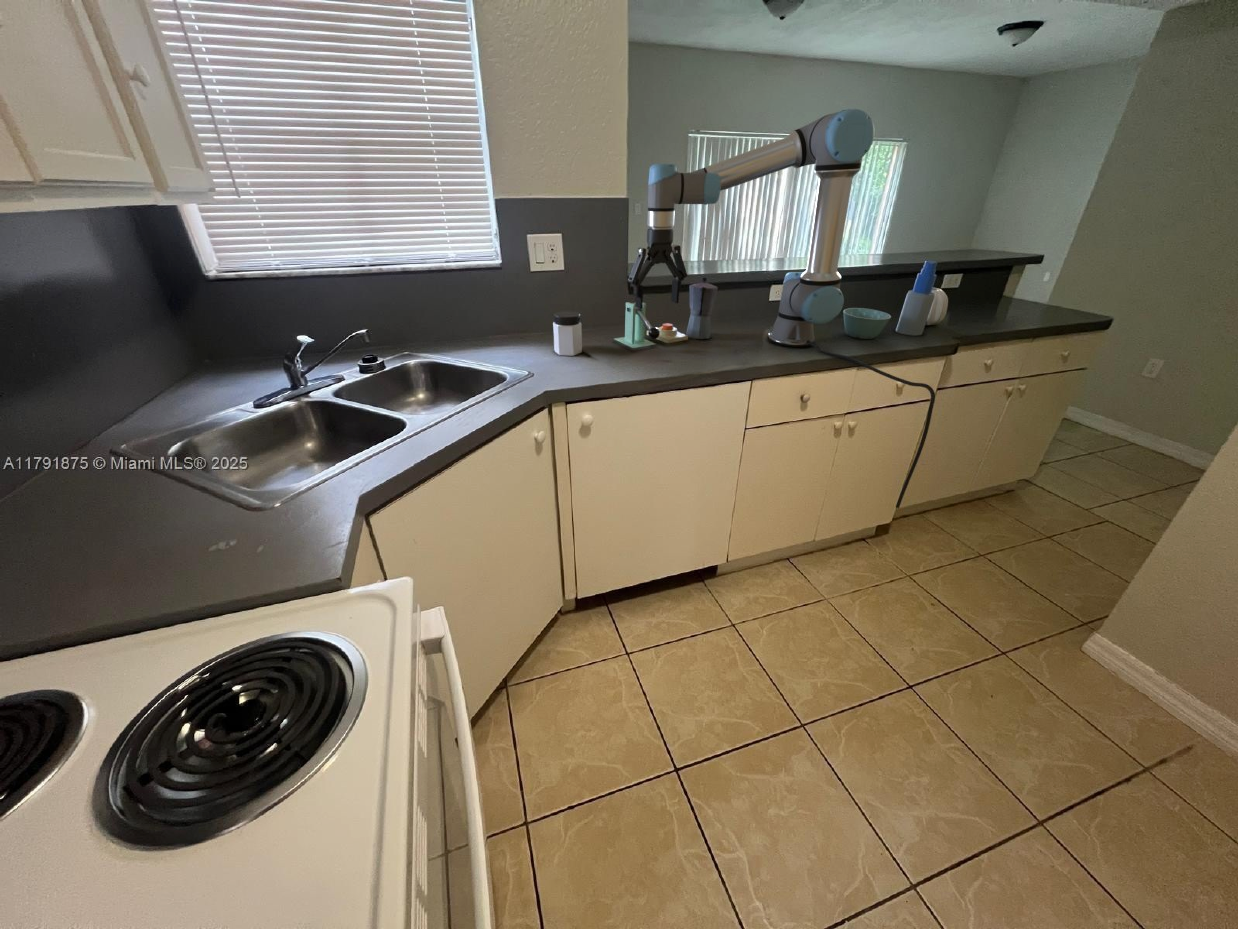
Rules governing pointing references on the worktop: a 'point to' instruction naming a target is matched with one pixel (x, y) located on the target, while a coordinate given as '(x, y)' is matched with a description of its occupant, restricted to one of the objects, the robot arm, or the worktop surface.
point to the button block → (670, 335)
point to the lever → (648, 325)
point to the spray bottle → (918, 302)
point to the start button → (667, 326)
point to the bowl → (864, 322)
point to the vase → (937, 307)
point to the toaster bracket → (634, 328)
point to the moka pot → (701, 309)
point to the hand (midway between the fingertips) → (657, 305)
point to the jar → (567, 333)
